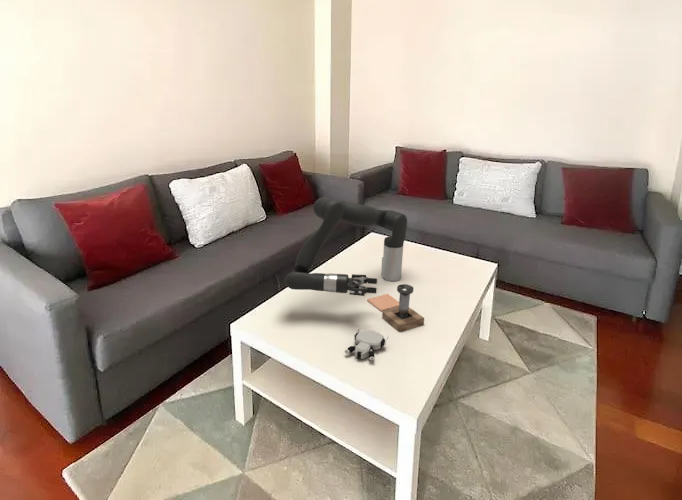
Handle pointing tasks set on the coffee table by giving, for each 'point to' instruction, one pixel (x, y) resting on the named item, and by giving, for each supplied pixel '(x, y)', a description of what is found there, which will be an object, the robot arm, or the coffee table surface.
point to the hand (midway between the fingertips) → (376, 285)
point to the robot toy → (366, 344)
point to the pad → (383, 302)
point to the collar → (402, 324)
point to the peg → (404, 300)
